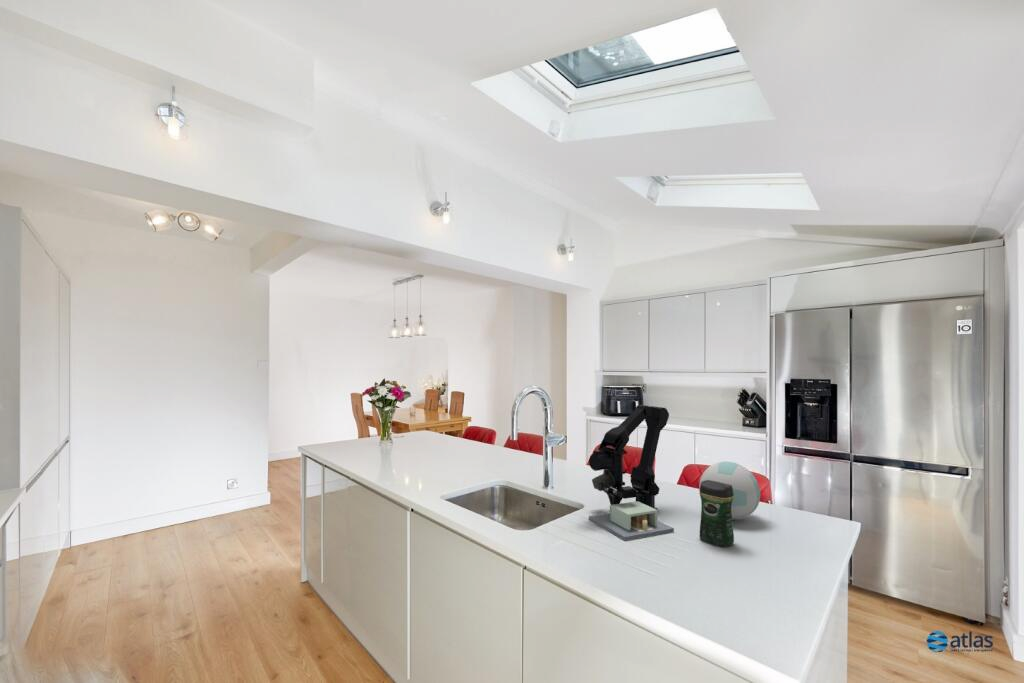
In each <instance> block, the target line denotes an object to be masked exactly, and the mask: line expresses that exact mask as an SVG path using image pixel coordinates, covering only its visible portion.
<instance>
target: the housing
mask: <svg viewBox="0 0 1024 683" xmlns="http://www.w3.org/2000/svg"><path fill="white" fill-rule="evenodd" d="M609 513H610V521H612V522H614V523H616V524H618V525H619V526H621V527H623V528H625V529H627V530H631V517H632V516H638V515H645V514H647V522H648V523H650V524H652V525H654V526H657V520H658V510H656V509H654V508H652V507H649V506H647V505H645V504H643V503H641V502H638V501H636V500H635V501H630V502H629V501H628V502H623V503H622V502H620V504H614V505H611V504H609Z"/></svg>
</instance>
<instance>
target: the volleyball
mask: <svg viewBox="0 0 1024 683" xmlns="http://www.w3.org/2000/svg"><path fill="white" fill-rule="evenodd" d="M705 480H711V481H716V482H720V483H725V484H729V485H732V488H733V494H734V498H733V501H732V505H731V513H732V521H733V520H742V519H744V518H747V517H749V516H751V515H752V514H753V513H754V512H755V511H756V510H757V508H758V507H759V503H760V500H761V489H760V485H759V483H758V482H759V481H757V478H756V477H755V476H754V474H753V473H752V472H751V470H749V469H748V468H746V467H745V466H743V465H741V464H739V463H736V462H733V461H720V462H715V463H713V464H712V465H710V466H708V467H707V468H706V469H705V470H704V471H703V473H702V474H701V477H700V478H699V486H698V487H699V488H698V489H699V491H698V492H700V485H701V482H702V481H705Z"/></svg>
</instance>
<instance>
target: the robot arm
mask: <svg viewBox="0 0 1024 683" xmlns="http://www.w3.org/2000/svg"><path fill="white" fill-rule="evenodd" d="M669 417H670V413H669V411H668V409H667V408H666V407H661V406H652V405H651V406H650V405H646V404H644V405H643V404H638V405H637V406H636V407H635V409H634V410H632V412H631V413H630V414H629V415H628V416H627V417H626V418H625V419H624V420H623V421H622V422H621V423H620V424H619V425H618V426H615V427H613V428H611V429H609V430H608V431H606V432H605V434H604V435H603V438H602V441H601V443H600V444H599V446H598V448H597V450H595V449H593V451H592V454H591V455H590V457H589V459H588V465H589V467H590V468H591V470H593V471H596V472H597V471H601V470H603V473H602V474H600V475H598V476H595V477H594V478H592V479H591V482H592V485H593V488H594V489H596V490H597V491H599V492H604V493H605V494H606V495H607V497H608V500H609V503H610V504H609V505H614V504H621V503H622V500H623V499H631V498H632V499H633V498H635V501H638V502H641V503H643V504H645V505H647V506H649V507H652V508H654V509H656V510H657V511H658V508H657V507H656V505H655V504H656V502H655V501H656V496H657V495H658V494H659V493H660V487H659V486H658V484H657V483H656V482H655V479H656V475H655V470H654V468H653V466H654V462H655V458H656V452H657V448H658V445H659V439H660V436H661V435H660V434H661V431H662V430H663V429H664V428H665V427H666V426H667V424H668V421H669V419H670V418H669ZM643 421H645V424H646V433H645V437H644V441H643V446H642V450H641V454H640V460H639V463H638V464H637V466H632V468H631V474H630V476H629V477H630V483H631V486H630V485H628V486H627V485H626V481H623V480H624V477H623V475H625V474H626V470H625V469H624V455H627V454H628V451H627V450H626V449H624V448H625V447H626V446H627V444H628V443H629V441H630V436H631V434H632V433H633V432H634V431H635V430H636V429H637V428H638V427H639V426H640V424H642V423H643Z"/></svg>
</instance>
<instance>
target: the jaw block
mask: <svg viewBox="0 0 1024 683" xmlns="http://www.w3.org/2000/svg"><path fill="white" fill-rule="evenodd" d="M642 520H647V514H645V515H638V516H632V517H631V525H632V526H633V527H635V528H642Z"/></svg>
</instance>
